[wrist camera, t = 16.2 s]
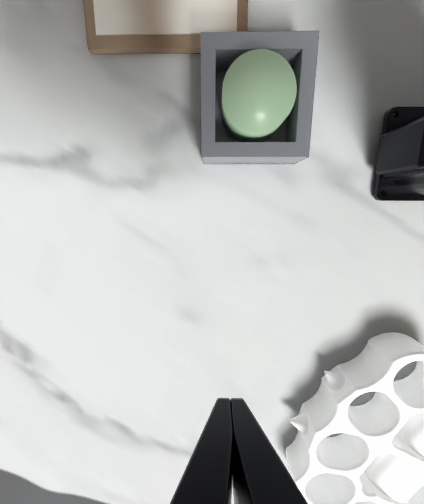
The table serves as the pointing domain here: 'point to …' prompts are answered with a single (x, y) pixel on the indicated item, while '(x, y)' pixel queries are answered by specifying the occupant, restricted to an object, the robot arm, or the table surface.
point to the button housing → (212, 76)
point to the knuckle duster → (363, 429)
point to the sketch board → (158, 24)
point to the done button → (257, 95)
